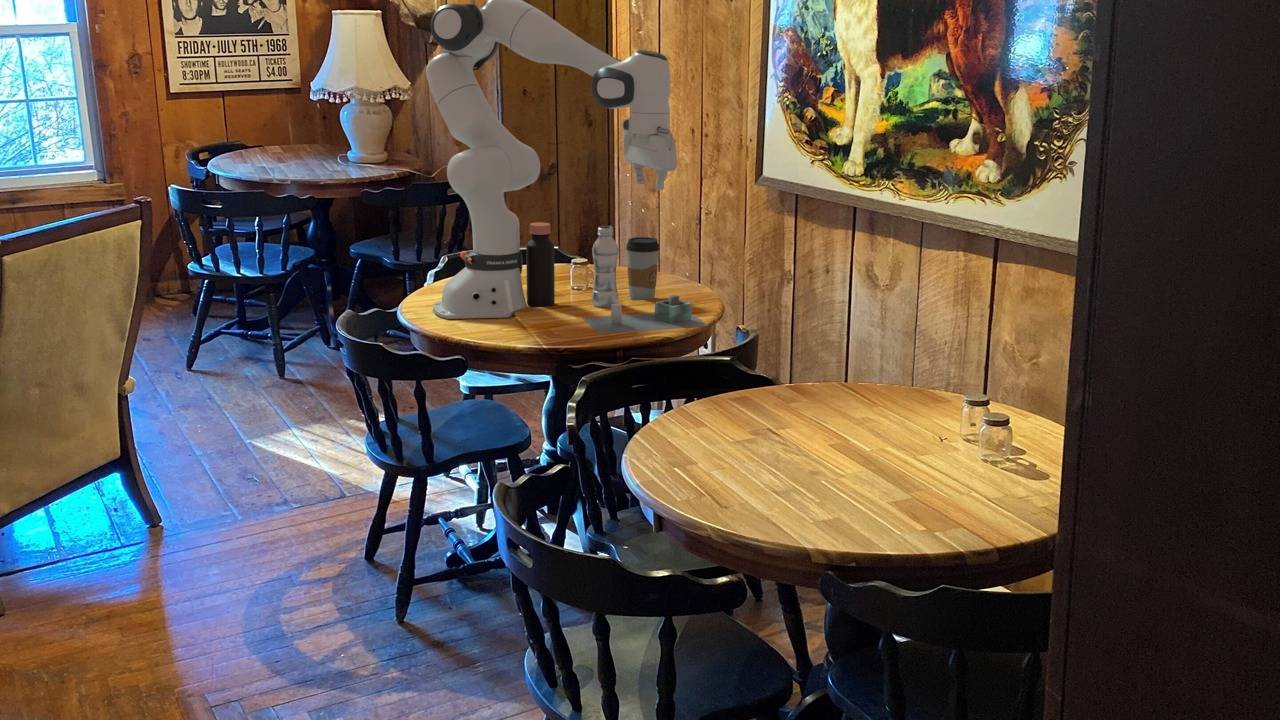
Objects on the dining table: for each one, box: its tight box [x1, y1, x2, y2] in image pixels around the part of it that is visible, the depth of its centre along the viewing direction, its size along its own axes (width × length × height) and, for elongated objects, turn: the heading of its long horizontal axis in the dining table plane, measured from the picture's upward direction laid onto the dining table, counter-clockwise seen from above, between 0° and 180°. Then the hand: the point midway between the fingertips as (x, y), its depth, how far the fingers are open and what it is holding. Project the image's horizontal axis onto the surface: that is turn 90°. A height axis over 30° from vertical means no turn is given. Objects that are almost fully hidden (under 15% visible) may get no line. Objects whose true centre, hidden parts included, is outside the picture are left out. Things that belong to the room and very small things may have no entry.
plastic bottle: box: [591, 225, 619, 309], centre depth 284 cm, size 6×7×20 cm
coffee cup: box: [625, 236, 660, 301], centre depth 295 cm, size 8×8×15 cm
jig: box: [582, 294, 710, 335], centre depth 271 cm, size 26×14×6 cm, turn 109°
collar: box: [654, 299, 692, 324], centre depth 273 cm, size 6×6×4 cm
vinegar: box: [525, 221, 556, 308], centre depth 287 cm, size 7×7×20 cm
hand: (649, 186), depth 270 cm, fingers open, 8 cm apart
